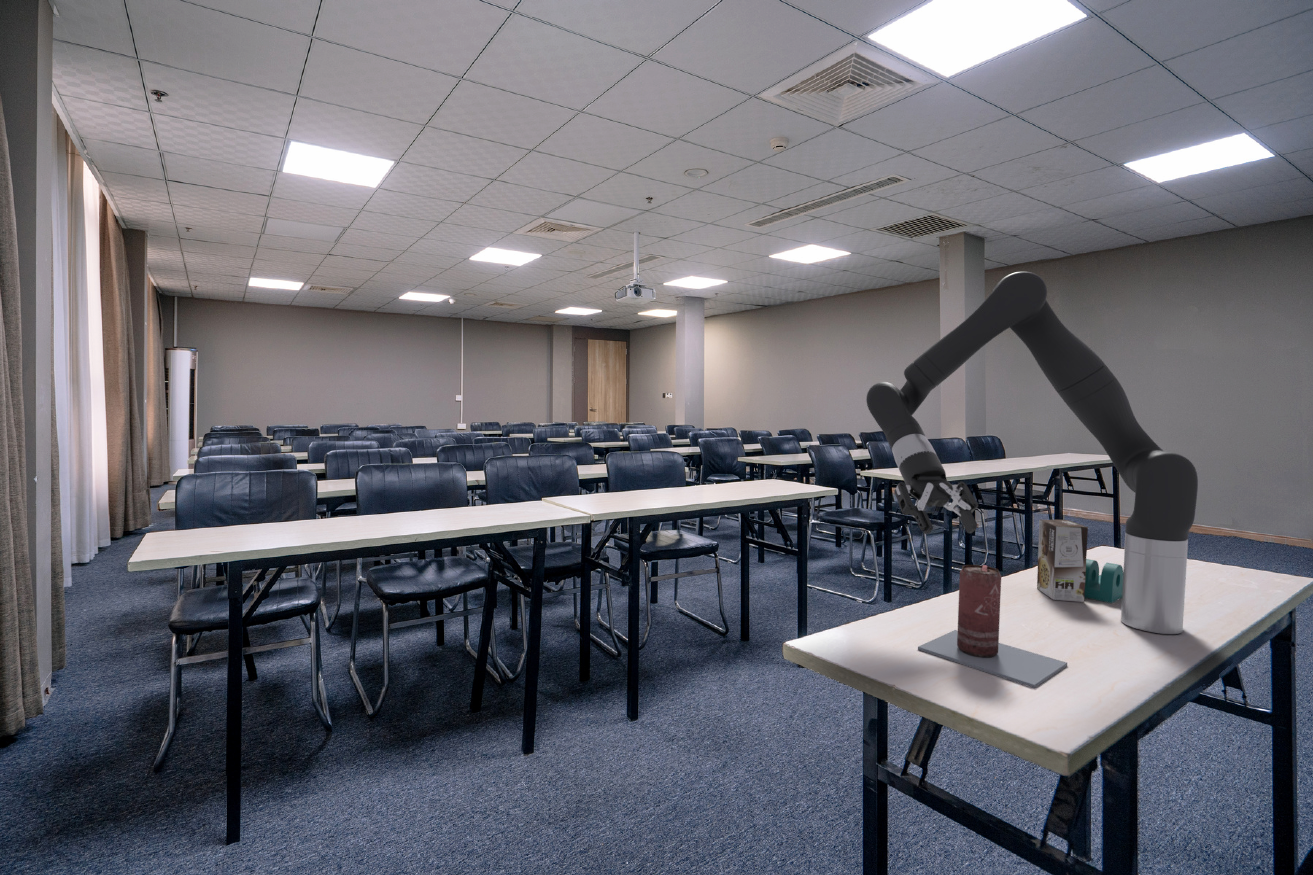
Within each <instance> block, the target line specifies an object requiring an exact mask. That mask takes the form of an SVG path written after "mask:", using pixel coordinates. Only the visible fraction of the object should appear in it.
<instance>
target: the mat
mask: <svg viewBox="0 0 1313 875" xmlns="http://www.w3.org/2000/svg"><path fill="white" fill-rule="evenodd" d="M957 634H958V629H954V630H951V631H950V632H947V633H945V634H943V635H940V636H938V637H936V638H934V639H932V640H930V641H927V642H925V643H923V644H921V645H919V646H917V650H919V651H922V652H924V653H926V654H930V655H933V656H936V657H939V658H942V659H945V660H947V661H951V662H953V663H957V664H961V665H964V666H965V667H966V666H967V667H970V668H972V669H975V670H978V671H981V672H984V673H987V674H990V675H993V676H997V677H999V678H1003V679H1005V680H1008V681H1012V682H1015V683H1017V684H1021V685H1024V686H1027V687H1029V688H1032V689H1035V688H1037V687H1039V686H1040V685H1042V684H1043V683H1044V682H1046V681H1047V680H1049V679H1051V678H1052V677H1053V676H1054V675H1056V674H1057V673H1059V672H1060V671H1062V670H1063V669H1065V668H1066V667H1067V666H1068V662H1066V661H1063V660H1060V659H1056V658H1053V657H1050V656H1045V655H1042V654H1038V653H1036V652H1032V651H1029V650H1026V649H1021V648H1018V647H1015V646H1011V645H1007V644H1004V643H1001V642H999V644H998V653H997V654H996V656H994V657H991V658H980V657H974V656H971V655H968V654H965V653H963V652H962V651H960V649H959V648H958V646H957Z"/></svg>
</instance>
